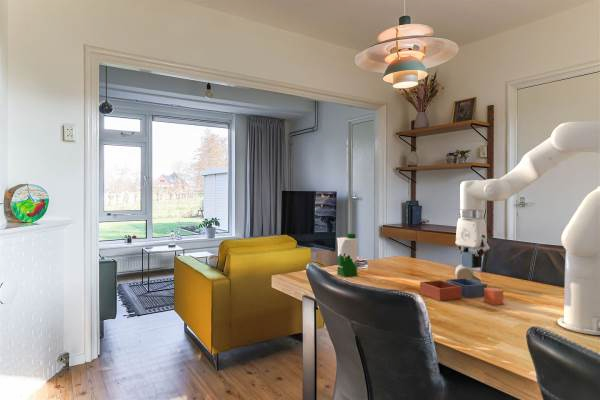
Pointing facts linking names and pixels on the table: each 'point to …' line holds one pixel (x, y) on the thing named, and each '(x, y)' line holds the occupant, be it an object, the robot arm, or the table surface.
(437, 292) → the terracotta bin
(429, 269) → the table surface
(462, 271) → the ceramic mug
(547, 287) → the table surface
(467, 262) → the slate block
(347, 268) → the milk carton
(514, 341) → the table surface
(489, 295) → the terracotta block
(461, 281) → the slate bin
